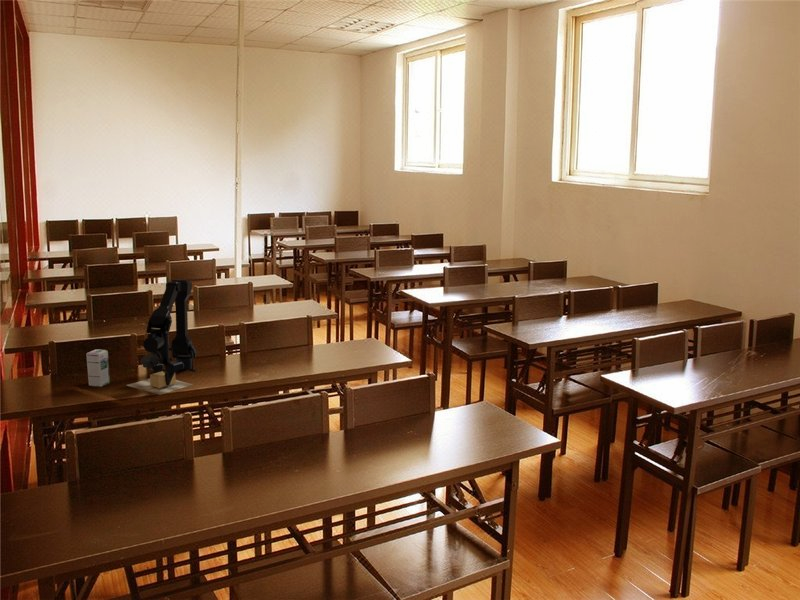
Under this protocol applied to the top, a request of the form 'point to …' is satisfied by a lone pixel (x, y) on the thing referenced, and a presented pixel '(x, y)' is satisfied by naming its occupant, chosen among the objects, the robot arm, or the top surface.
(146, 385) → the grey patterned flat panel
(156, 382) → the sanding block
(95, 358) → the syrup box
